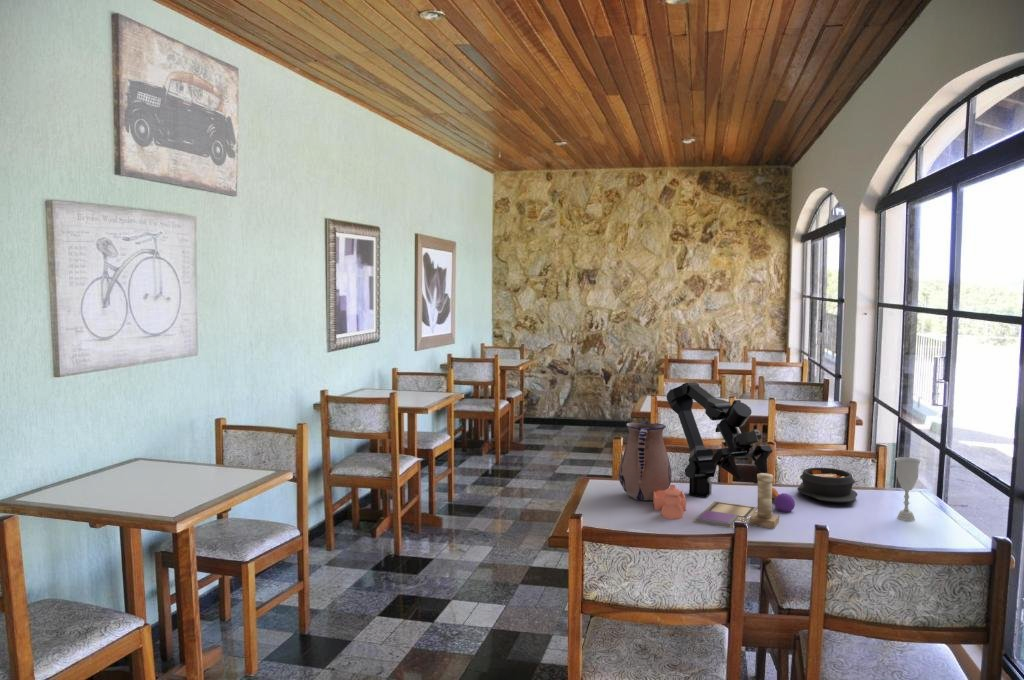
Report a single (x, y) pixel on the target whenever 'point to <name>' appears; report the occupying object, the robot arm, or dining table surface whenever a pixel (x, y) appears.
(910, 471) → the chalice
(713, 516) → the ink pad
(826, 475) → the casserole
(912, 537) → the dining table surface
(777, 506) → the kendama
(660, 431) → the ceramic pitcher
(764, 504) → the stamp
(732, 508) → the stamp board
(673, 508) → the pottery
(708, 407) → the robot arm
